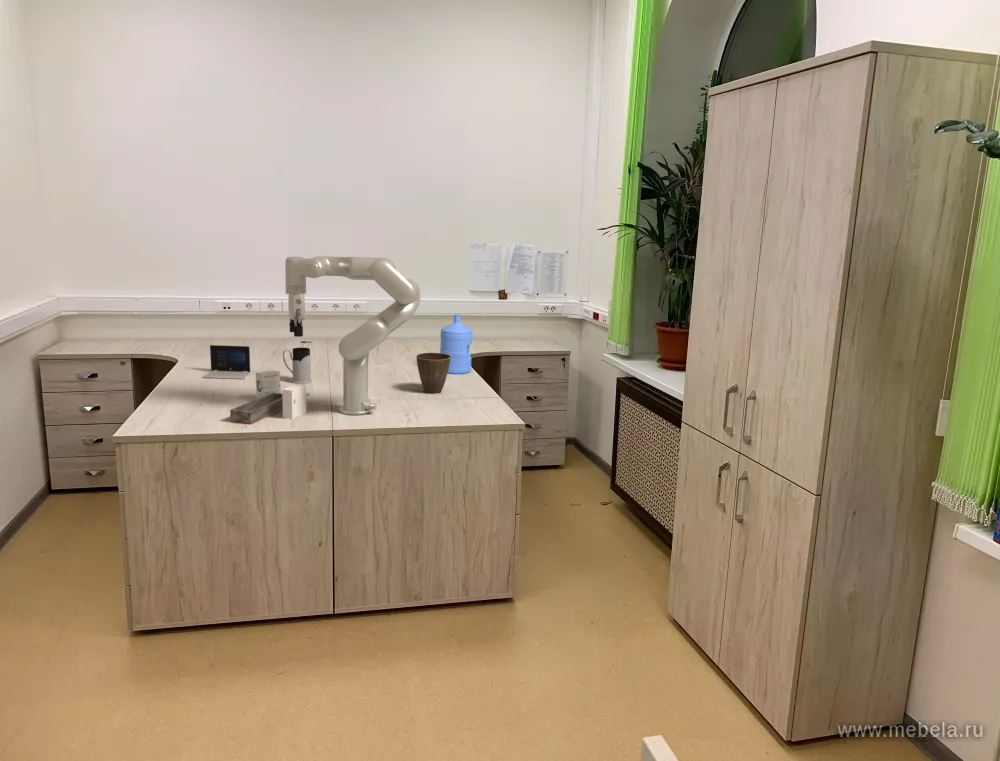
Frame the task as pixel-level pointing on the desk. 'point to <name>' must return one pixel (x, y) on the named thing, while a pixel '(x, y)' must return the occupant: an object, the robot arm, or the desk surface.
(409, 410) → the desk surface
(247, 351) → the laptop
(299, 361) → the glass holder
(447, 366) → the plant pot
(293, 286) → the robot arm
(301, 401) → the white rectangular box
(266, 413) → the door track
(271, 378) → the ink box
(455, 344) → the water jug
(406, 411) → the desk surface
